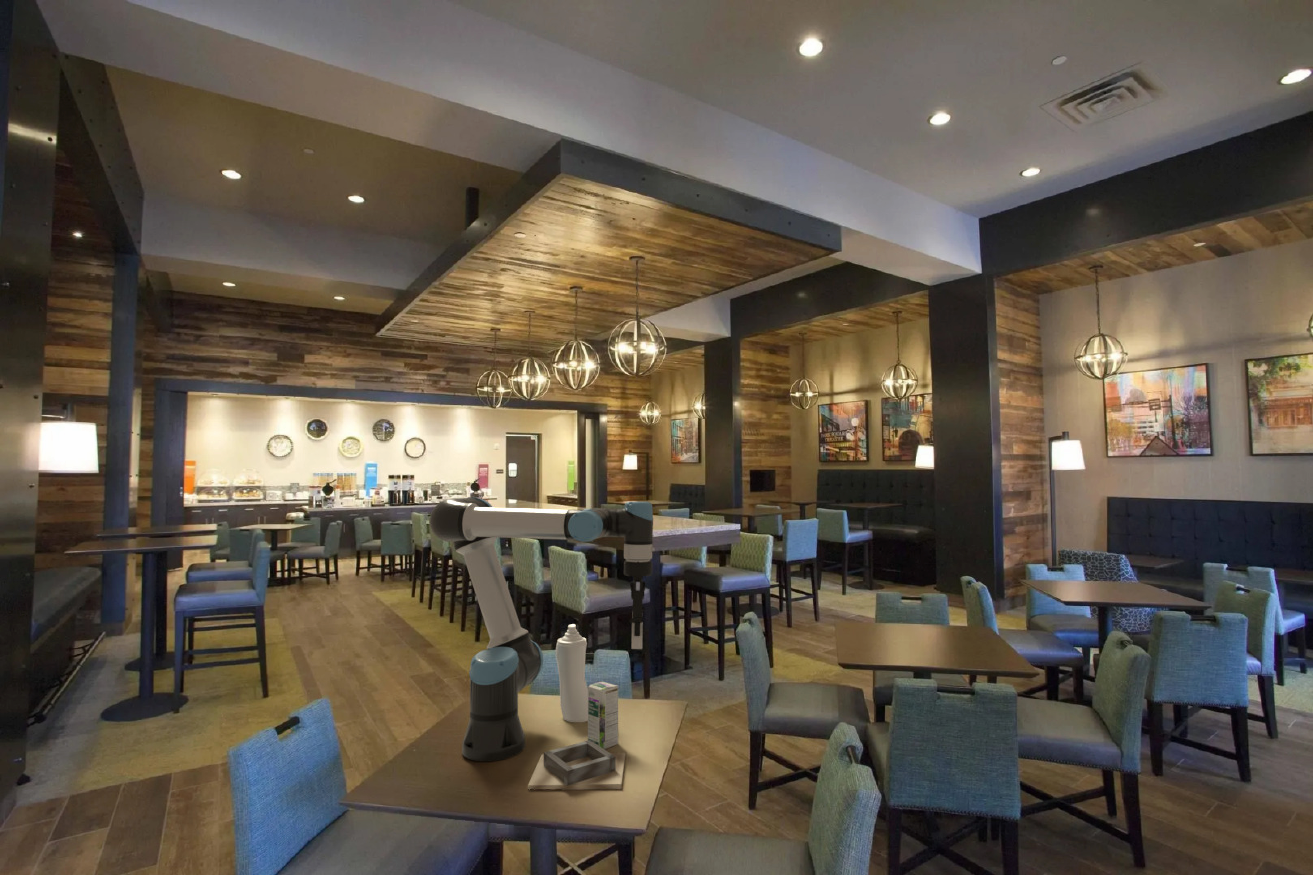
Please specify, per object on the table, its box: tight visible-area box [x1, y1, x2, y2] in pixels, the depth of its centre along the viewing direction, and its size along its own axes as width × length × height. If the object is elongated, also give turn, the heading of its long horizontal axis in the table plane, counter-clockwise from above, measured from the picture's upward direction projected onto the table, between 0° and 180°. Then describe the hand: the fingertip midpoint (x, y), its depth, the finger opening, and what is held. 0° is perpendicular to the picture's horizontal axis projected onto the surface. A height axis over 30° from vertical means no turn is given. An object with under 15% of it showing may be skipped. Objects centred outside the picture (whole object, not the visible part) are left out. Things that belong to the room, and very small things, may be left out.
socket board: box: [527, 739, 626, 791], centre depth 144 cm, size 20×17×4 cm
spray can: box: [554, 623, 588, 723], centre depth 182 cm, size 12×11×25 cm
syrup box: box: [587, 681, 619, 750], centre depth 161 cm, size 6×6×14 cm
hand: (636, 642), depth 167 cm, fingers open, 13 cm apart
